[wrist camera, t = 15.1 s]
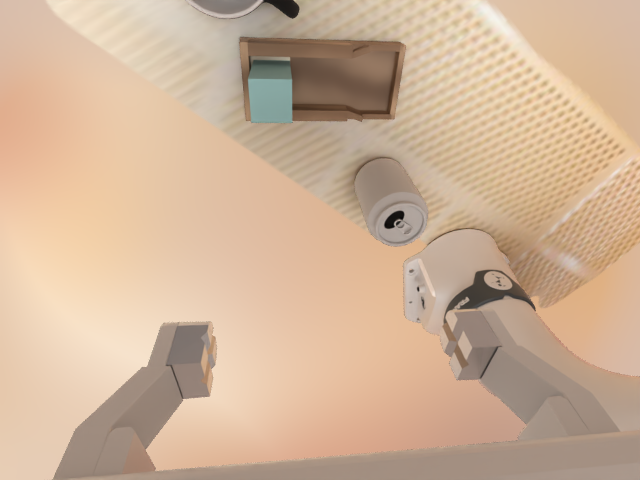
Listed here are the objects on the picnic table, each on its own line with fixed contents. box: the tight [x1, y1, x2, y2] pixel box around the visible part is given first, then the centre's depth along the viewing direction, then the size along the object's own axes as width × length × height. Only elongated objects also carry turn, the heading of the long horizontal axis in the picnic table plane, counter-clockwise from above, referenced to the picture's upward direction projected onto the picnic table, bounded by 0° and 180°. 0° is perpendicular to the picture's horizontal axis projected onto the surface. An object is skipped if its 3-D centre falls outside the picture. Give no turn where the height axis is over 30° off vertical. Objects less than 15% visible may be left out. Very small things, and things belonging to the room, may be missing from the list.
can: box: [354, 158, 428, 246], centre depth 46 cm, size 8×8×12 cm
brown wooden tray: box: [239, 37, 406, 122], centre depth 41 cm, size 8×18×4 cm, turn 88°
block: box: [248, 60, 292, 123], centre depth 37 cm, size 4×4×9 cm
